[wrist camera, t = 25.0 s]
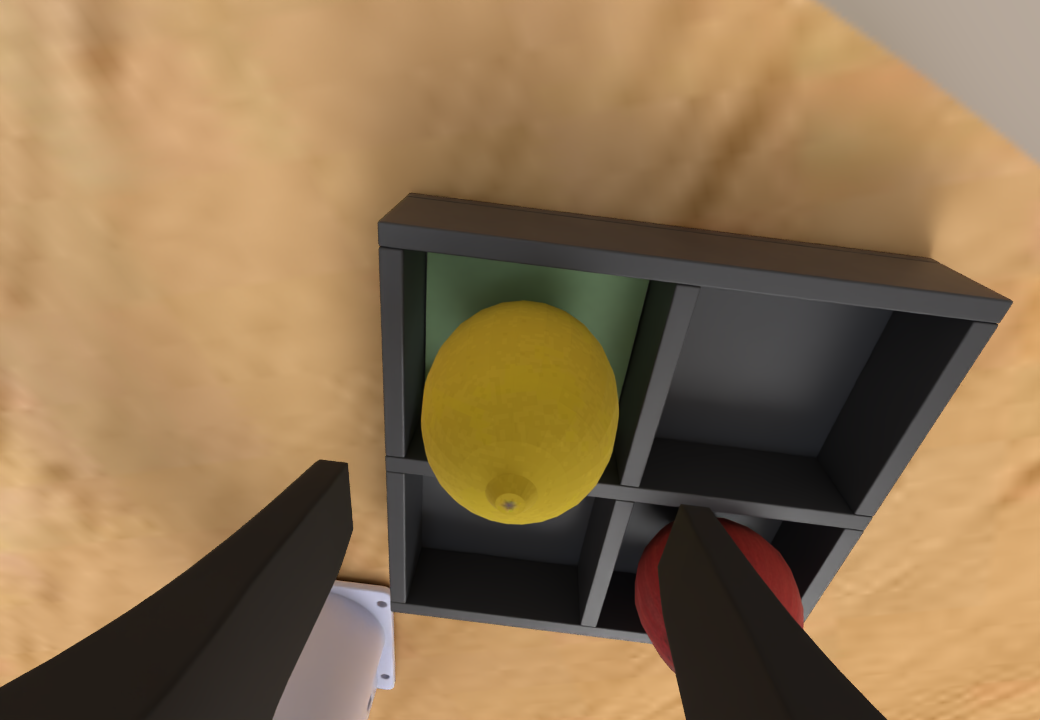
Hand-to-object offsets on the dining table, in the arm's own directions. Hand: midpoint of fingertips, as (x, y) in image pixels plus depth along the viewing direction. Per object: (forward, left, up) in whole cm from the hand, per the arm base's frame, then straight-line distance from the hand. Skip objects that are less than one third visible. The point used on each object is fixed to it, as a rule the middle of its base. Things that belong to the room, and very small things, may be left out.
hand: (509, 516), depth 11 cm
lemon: (0, 0, -8) cm, 8 cm away
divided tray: (-4, -4, -9) cm, 11 cm away
